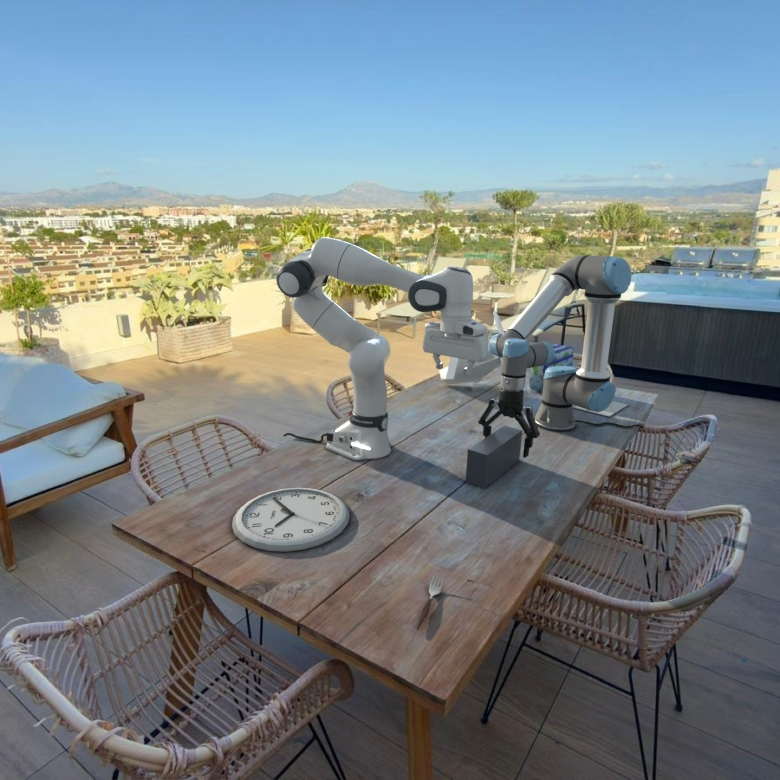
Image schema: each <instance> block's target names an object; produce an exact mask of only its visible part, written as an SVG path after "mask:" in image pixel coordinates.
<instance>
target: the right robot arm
mask: <svg viewBox="0 0 780 780" xmlns="http://www.w3.org/2000/svg"><path fill="white" fill-rule="evenodd" d="M631 283H632V269H631V266H630V264H629V263H628V261H627V260H626V259H624V258H623V257H617V256H613V255H612V256H611V255H590V254H581V255H578V256H574V257H572V258H571V259H569V260H567V261H566V262H563V263H562V264H561V265H560V266H559V267H558V268H556V269H555V270H554V271H553V272H552V274H551V275H550V276H549V277H548V278H547V284H545V286H544V287H543V288H542V289H541V291H540V292H539V293H538V294H537V295H536V296H535V297H534V298H533V299H532V301H531V302H530V303H529V304H528V306H527V307H526V308H525V309H524V310H523V311H522V312H521V314H519V316H517V318H516V319H515V320H514V321H513V322H512V324H511V325H510V326H509V327H508V328H507V330H505V331H504V334H503V335H502V334H499V333H497V334H494V335H492V337H491V338H490V340H489V341H488V344H489V350H490V352H491V353H492V354H493V355H496V356H498V357H500V358H503V359H502V363H501V372H500V373H501V374H500V382H499V386H500V388H499V394H498V400H497V399H496V398H495V397H493V398H491V399H489V401H488V406H487V407H486V408H485V410H484V411H483V414H482V415H481V416H480V418H479V420H478V421H477V423H478V424H479V425H481V426H482V436H483V437H484V438H486V437H488V436H489V435H491V434H492V425H491V424H492V423H493V422H495V421H496V420H497V419H498V418H499V417H500V416H501V415H502V416H503V417H508V418H511V419H515V421H516V422H517V423H518V424H519V426H520V428H521V430H522V432H523V433H524V434H525V436H526V437H525V438H524V442H523V443H524V445H523V453H522V458H523V459H526V458H527V457H528V456H529V454H530V449H531V448H532V447H533V446H534V445H533V444H534V439H537V438H539V437H540V436H541V433H540V430H539V428H542V429H544V430H549V431H556V432H567V431H572V430H574V429H575V428H576V423H580V424H586V425H590V426H595V427H596V426H597V427H598V426H603V425H611V426H616V427H619V428H622V429H623V428H624V429H631V428H635V427H639V428H641V429H644V426H643V425H641V424H639V423H635V424H632V425H623V424H618V423H614V422H610V421H606V422H599V423H594V422H589V421H584V420H578V419H576V418H575V417H576V416H575V413H574V407H576V406H578V407H581V408H584V409H587V410H589V411H590V410H591V411H595V412H601V411H603V410H605V409H606V408H607V407H608V406H609V405H610V404H611V402H612V401H614V398H615V395H616V392H617V391H616V390H617V388H616V385H615V383H614V382H612V381H611V373H610V372H609V371H608V370H607V368H608V363H609V354H610V347H611V346H610V345H611V340H612V339H611V338H612V330H613V324H614V315H615V309H616V303H617V302H618V301H619V300H621V298H622V294H624V293H626V292H628V290H629V287H630V286H631ZM576 290H584V298H585V299H586V300H587V302H588V303H587V312H586V321H585V328H584V331H585V332H584V336H583V337H584V338H583V345H582V346H583V347H582V355H581V363H580V367H579V368H577V367H575V366H572V367H571V366H555V367H549V368H547V369H546V370H545V375H544V378H543V379H544V381H543V391H542V392H541V393H542V394H541V402H540V405H539V407H538V410H537V411H536V413H535V416H534V413H533V406H531V405H530V406H524V397H525V393H524V390H523V389H524V388H525V381H526V377H527V369H530V368H532V367H538V366H544V365H547V364H550V363H551V362H552V361H553V360H554V357H555V350H554V347H553V346H552V345H553V344H552V343H550V342H547V341H538V342H535V341H530V340H529V339H530V338H531V337H532V336H533V334H534V333H535V332H536V331H537V330H538V328H539V327H540V326H541V325H542V324H543V323H544V322H545V320H546V319H547V318H548V317H549V315H551V313H552V312H553V311H554V310H555V308H557V307H558V305H559V304H560V303H561V302H562V300H563V299H564V298H565V297H569V296H570V295H572V293H573V292H574V291H576ZM496 406H497V407H498V409H499V410H498V411H496V412H495V413H494V414H493V415H492V416H491V417H490V418H489V419H488V417H489V416H490V415H491V412H492V411H493V409H494V408H495V407H496ZM573 406H574V407H573ZM522 412H524V414H525V417H526V419H525V417H524V415H523V413H522ZM487 419H488V420H487ZM526 420H527V421H526ZM538 427H539V428H538Z"/></svg>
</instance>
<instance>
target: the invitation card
mask: <svg viewBox="0 0 780 780" xmlns="http://www.w3.org/2000/svg"><path fill="white" fill-rule="evenodd" d="M628 406H629V404H627V403H623V402H618V401H614V400H613V401H612V402H611V404H610V405H609V406H608V407H607V408H606V409H605V410H603V411H601V412H595V411H591V410H590V411H589V410H587V409H584V408H581V407H578V406H574V407H573V409H575V410H581V411H584V412H587V413H593V414H596V415H600V416H604V417H608V418H609V417H611V416H613V415H614V414H616V413H617V412H619V411H621V410H623V409H624V408H626V407H628Z"/></svg>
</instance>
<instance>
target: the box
mask: <svg viewBox="0 0 780 780" xmlns="http://www.w3.org/2000/svg"><path fill="white" fill-rule="evenodd" d="M522 437H523V429H520V428H515V427H511V426H508V425H503V426H502V427H500V428H498V429H497V430H494V432H491V435H489V436H488V437H486V438H485V437H484V438H483V439H481V440H480V441H478V442H476V443H475V444H474V445H472V446H470V447H469V448H467V455H466V458H467V459H466V467H465V469H466V470H465V483H468V484H471V485H474V486H476V487H480V488H483V489H486V488H487V487H488V486H490V485H491V484H492V483H493V482H494V481H496V480H497V479H498V478H499V477H500V476H501V475H503V474H504V473H505V472H507V471H508V470H509V469H510V468H512V467H513V466H515V465H516V463H518V462H519V461H520V458H521V447H522V439H523V438H522Z"/></svg>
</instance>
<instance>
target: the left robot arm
mask: <svg viewBox="0 0 780 780" xmlns="http://www.w3.org/2000/svg"><path fill="white" fill-rule="evenodd" d="M329 277H331V278H334V279H336V280H339V281H341V282H343V283H346V284H350V285H354V286H359V287H365V286H366V287H367V286H376V285H377V286H378V285H379V286H387V287H392V288H394V289H398V290H400V291H402V292H405V293H407V298H408V302H409V305H410V306H411V308H413V309H414V310H415V311H417V312H419V313H431V312H437V311H439V312H440V318H439V319H440V320H439V321H440V322H436V321H435V322H434V321H428V322H427V323H426V324H425V325H424V335H423V341H422V350H423V352H424V353H427V354H432V358H433V361H434V362H435V369H437V370H441V369H444V362H442V361H441V358H440V357H441V356H445V357H449V358H450V357H455V358H460V359H466V360H468V362H467V363H468V364H469V365H468V367H466V368H464V374H466V375H469V374H471V368H472V367H473V365H474V364H475V361H477V362H482V361H484V360H485V359H486V358H487V356H488V344H489V341H488V337H487V335H486V333H487V331H488V327H487V325H485V324H483V323H481V322H479V321H477V320H475V319H473V318H472V317H473V314H472V304H473V300H474V279H473V275H472V273H471V272H470V271H469V270H468V269H466V268H462V267H458V266H445V268H444V269H442V270H441V271H439V272H437V273H435V274H434V273H433V274H420V273H417V272H415V271H412V270H409V269H406V268H403V267H400V266H397V265H395V264H393V263H390V262H388V261H386V260H384V259H382V258H380V257H379V256H377V255H375V254H373V253H371V252H369V251H368V250H366V249H364V248H362V247H360V246H357V245H356V244H353V243H350V242H347V241H344V240H341V239H337V238H333V237H328V236H327V237H326V236H323V237H319V238H318V239H316V240H315V241H314V242H313V244H312V246H311V248H308V249H305V250H304V251H302V252H300V253H298V254H296V255H295V256H293V257H292V258H291V259H290V260H289V261H287V262H285V263H284V264H283V265H282V266H281V267H280V268H279V269H278V271H277V273H276V277H275V281H276V285H277V287H278V289H279V290H280V292H281V293H282V294H284V295H285V296H287V297H289V298H291V299H292V302H291V306H292V309H293V310H294V311H295V313H296V314H297V315H298V316H299V318H300V319H301V320H302V321H303V322H304V323H305V324H306V325H307V326H308V327H310V328H311V329H312V330H313V331H315V333H317V334H318V336H319V337H321V338H323V339H324V340H325V341H326V342H327V343H329V344H330V345H331V346H333V347H337V348H339V349H341V350H343V351H345V352H346V353H348V354H349V355H348V359H347V363H348V368H349V370H350V378H351V382H352V390H353V392H352V394H353V409H351V410H350V411H348V412H347V413H346V417H349V418H348V420H346V421H345V422H343V423H342V424H341V425H339V426H338V427H336V428H331V429H330V430H329V431H327V432H326V433H323V434H321V436H320V440H317V439H313V438H309V437H304V436H299V435H296V434H294V433H291V432H286V433H284V434H283V435H282V437H287V436H291V437H293V438H296V439H299V440H303V441H310V442H313V443H318V444H319V443H322V442H324V437H326V441H327V443H326V446H325V449H327V450H328V451H331V452H333V453H335V454H338V455H341V456H343V457H345V458H348V459H350V460H353V461H362V460H376V459H381V458H384V457H386V456H388V455H390V454H391V452H392V448H391V445H390V440H389V433H388V425H389V411H388V387H387V383H386V375H385V366H386V363H387V361H388V360H389V359H390V357H391V344H390V342H389V340H388V339H387V338H386V337H385V336H384V335H382V334H379V333H377V332H376V331H375V330H373V329H372V328H370V327H369V326H367V325H366V324H363V323H362V322H360V321H359V320H357V319H356V318H354V317H353V316H352V315H350V314H349V313H348V312H347V311H346V310H344V309H343V308H342V307H341V306H339V305H338V304H337V303H336V302H335V301H334V300H332V298H330V297H329V296H328V295H326V294H325V292H324V289H323V287H326V286H327V284H328V281H329Z"/></svg>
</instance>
